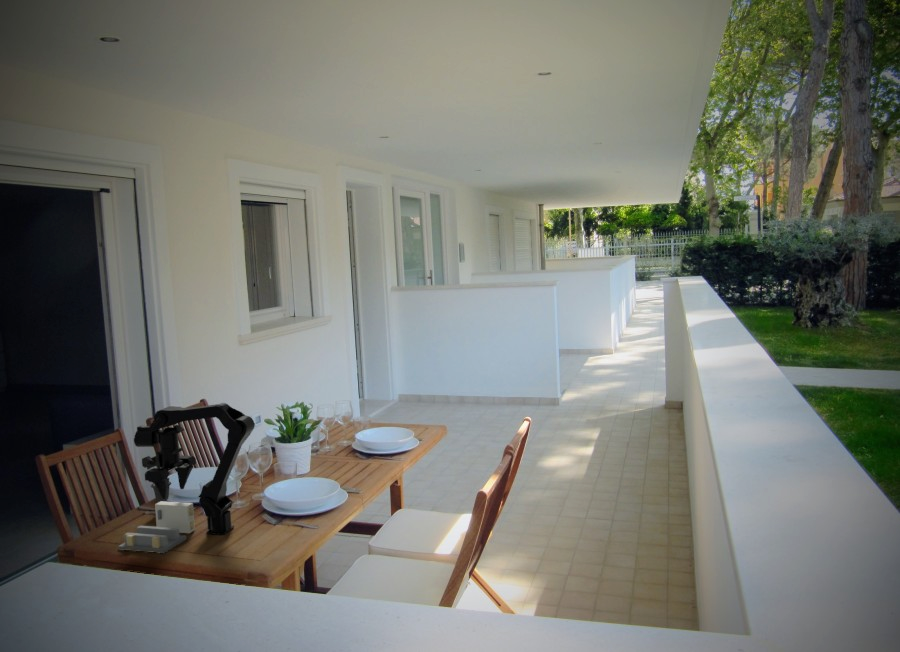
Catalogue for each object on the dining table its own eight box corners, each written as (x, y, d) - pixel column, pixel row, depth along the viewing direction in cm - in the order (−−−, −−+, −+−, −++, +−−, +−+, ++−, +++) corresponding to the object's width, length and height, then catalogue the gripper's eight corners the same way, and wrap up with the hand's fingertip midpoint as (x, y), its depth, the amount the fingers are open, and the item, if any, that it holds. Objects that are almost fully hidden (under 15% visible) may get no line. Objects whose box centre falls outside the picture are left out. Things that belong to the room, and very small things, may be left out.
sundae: (166, 516, 240) (163, 473, 238) (149, 515, 241) (145, 473, 240) (177, 509, 246) (174, 467, 245) (160, 508, 248) (157, 467, 246)
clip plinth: (186, 539, 219) (185, 526, 218) (163, 553, 208) (162, 540, 208) (142, 535, 223) (141, 523, 222) (118, 550, 212) (117, 536, 212)
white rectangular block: (196, 530, 226) (194, 503, 226) (189, 534, 223) (187, 507, 222) (162, 527, 230) (160, 501, 229) (155, 532, 226) (153, 505, 225)
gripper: (166, 438, 235) (169, 483, 237) (127, 453, 217) (132, 502, 219) (195, 439, 232) (198, 484, 234) (158, 454, 214) (162, 504, 216)
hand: (173, 493), depth 226 cm, fingers open, 9 cm apart
